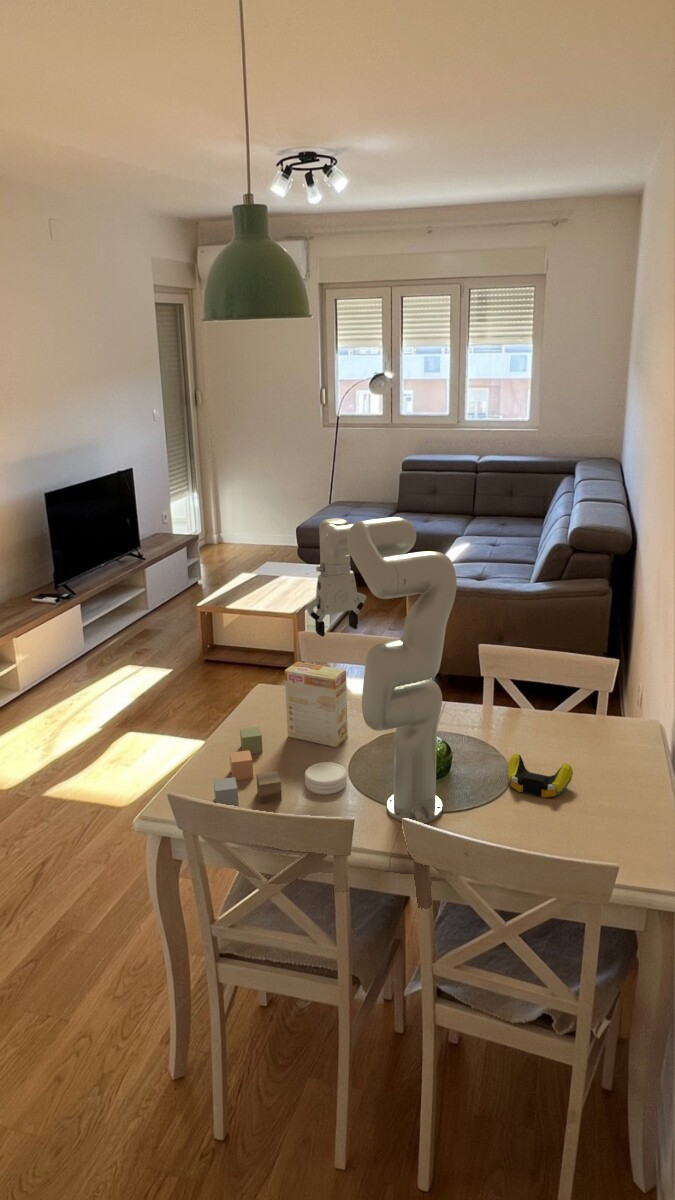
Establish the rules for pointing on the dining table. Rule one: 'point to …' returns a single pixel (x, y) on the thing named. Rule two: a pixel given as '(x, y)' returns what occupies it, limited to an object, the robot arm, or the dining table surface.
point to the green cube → (251, 739)
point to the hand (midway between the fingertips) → (337, 631)
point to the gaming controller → (537, 779)
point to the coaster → (325, 778)
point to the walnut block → (269, 787)
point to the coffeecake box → (316, 703)
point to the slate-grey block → (226, 791)
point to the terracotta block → (241, 765)
